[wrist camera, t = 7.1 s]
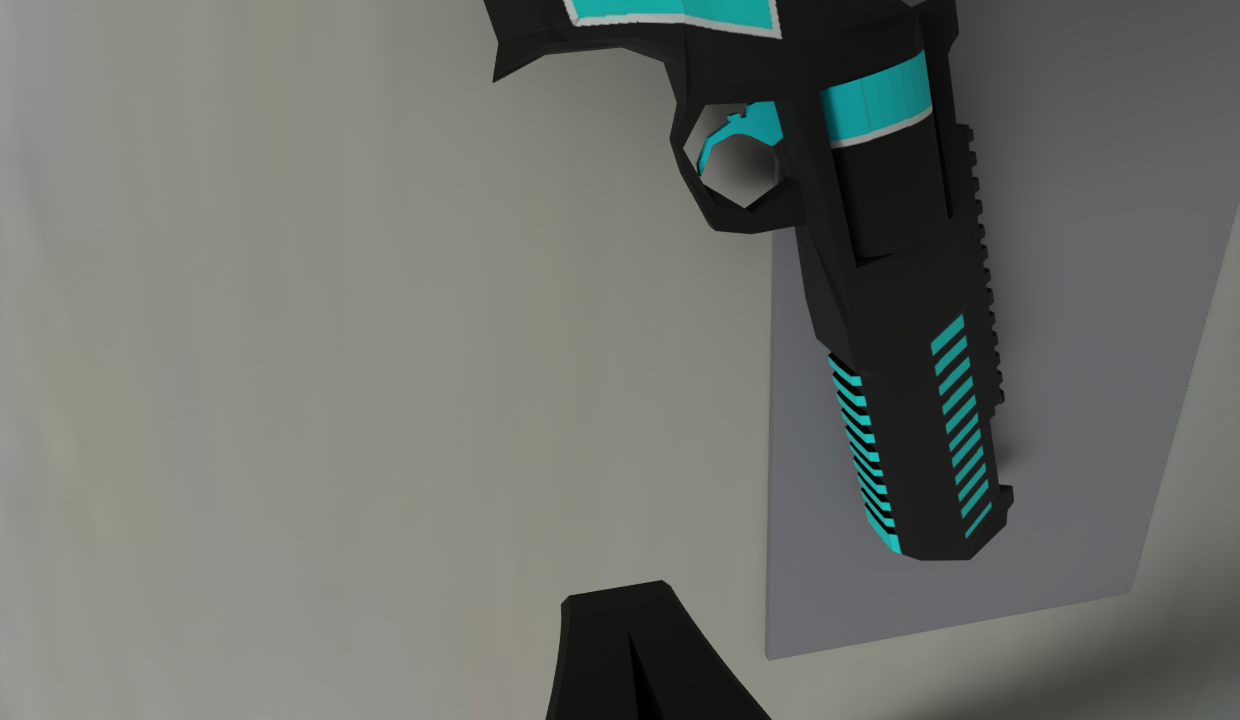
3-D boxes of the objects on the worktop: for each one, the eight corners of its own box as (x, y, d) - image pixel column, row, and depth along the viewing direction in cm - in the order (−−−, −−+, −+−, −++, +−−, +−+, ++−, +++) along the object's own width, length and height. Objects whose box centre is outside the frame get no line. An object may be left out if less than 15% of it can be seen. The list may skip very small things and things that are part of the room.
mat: (1122, 588, 25) (1128, 593, 25) (765, 654, 24) (768, 660, 23) (1338, -206, 16) (1352, -211, 16) (780, -193, 14) (786, -199, 14)
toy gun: (724, 663, 19) (1050, 539, 19) (404, -131, 11) (965, -353, 11) (699, 591, 22) (984, 483, 22) (426, -91, 14) (878, -268, 14)
